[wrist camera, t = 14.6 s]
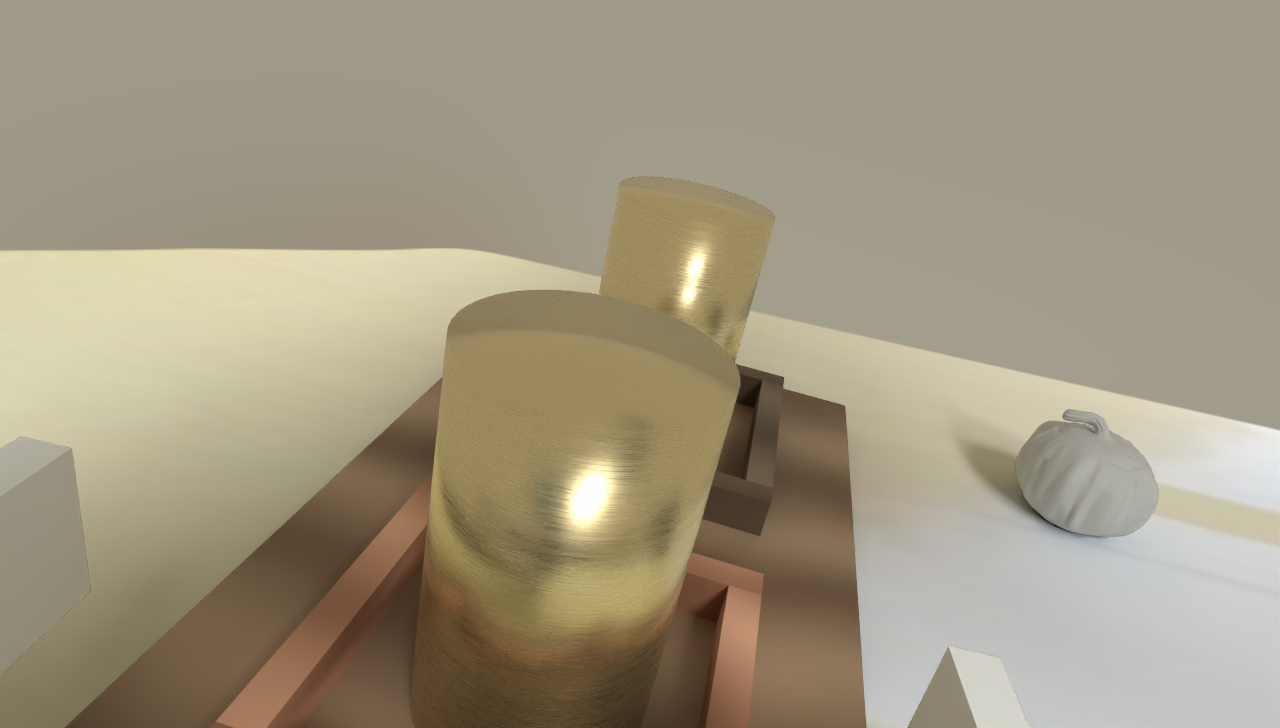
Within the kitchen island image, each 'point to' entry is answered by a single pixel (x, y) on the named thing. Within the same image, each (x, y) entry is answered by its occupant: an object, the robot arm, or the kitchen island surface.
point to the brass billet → (562, 508)
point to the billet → (687, 253)
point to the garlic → (1086, 477)
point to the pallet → (392, 575)
